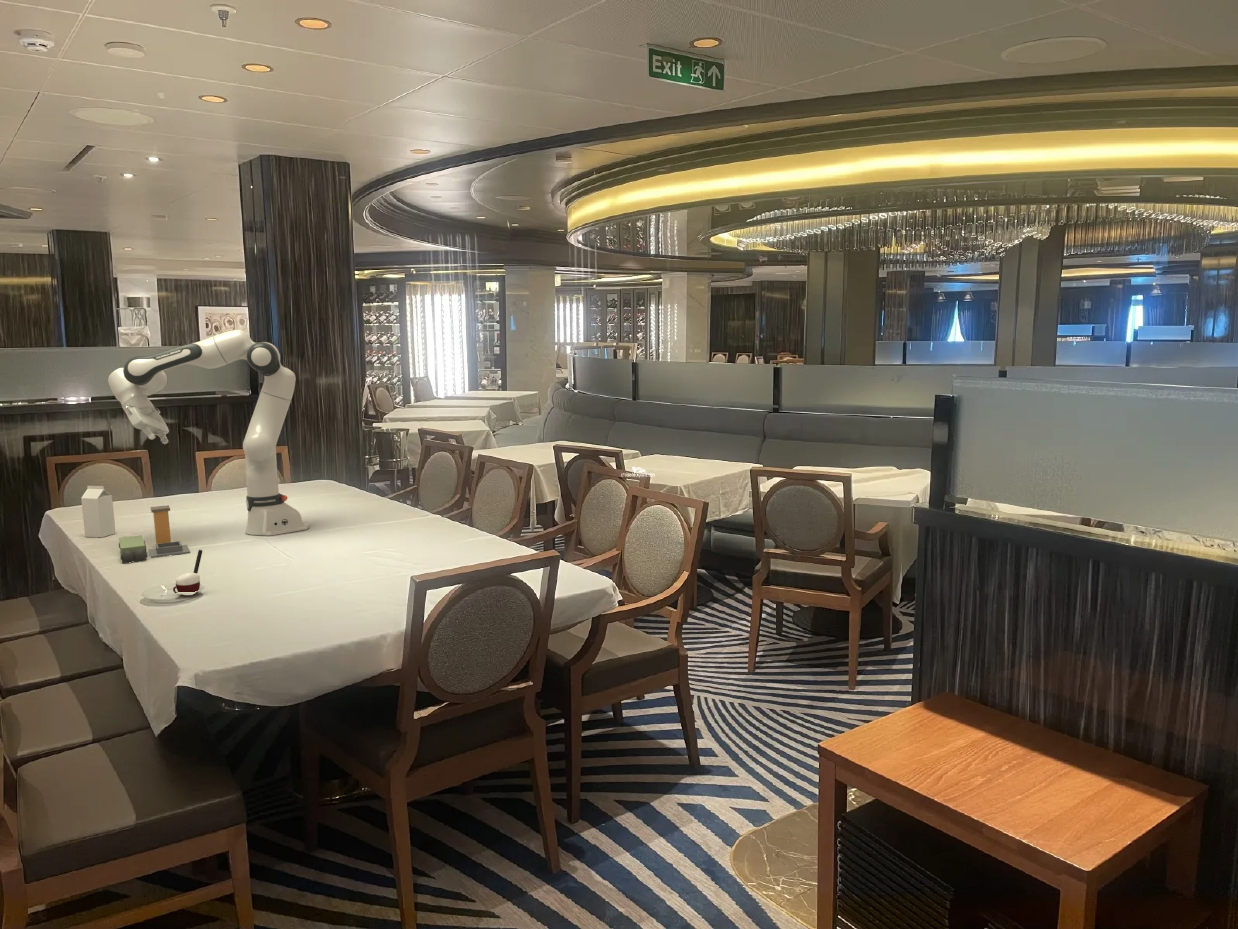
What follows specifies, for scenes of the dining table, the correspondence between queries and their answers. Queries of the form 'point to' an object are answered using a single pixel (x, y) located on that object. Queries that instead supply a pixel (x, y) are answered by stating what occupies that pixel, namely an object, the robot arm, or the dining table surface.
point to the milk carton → (98, 512)
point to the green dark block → (132, 549)
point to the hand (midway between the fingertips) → (159, 440)
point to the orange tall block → (161, 524)
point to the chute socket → (169, 549)
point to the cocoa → (189, 579)
